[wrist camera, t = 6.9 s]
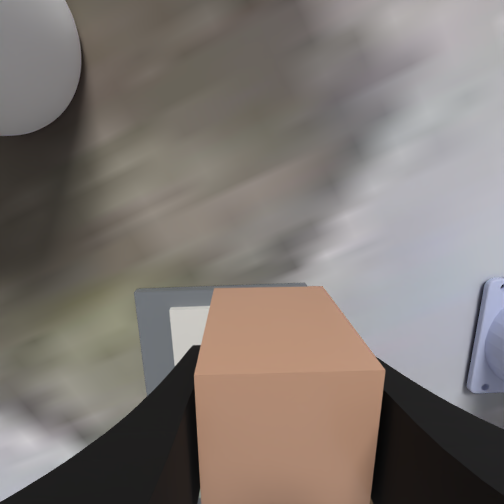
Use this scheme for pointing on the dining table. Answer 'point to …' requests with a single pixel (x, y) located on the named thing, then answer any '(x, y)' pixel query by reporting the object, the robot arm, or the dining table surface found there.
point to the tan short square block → (285, 400)
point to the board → (174, 325)
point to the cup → (36, 63)
